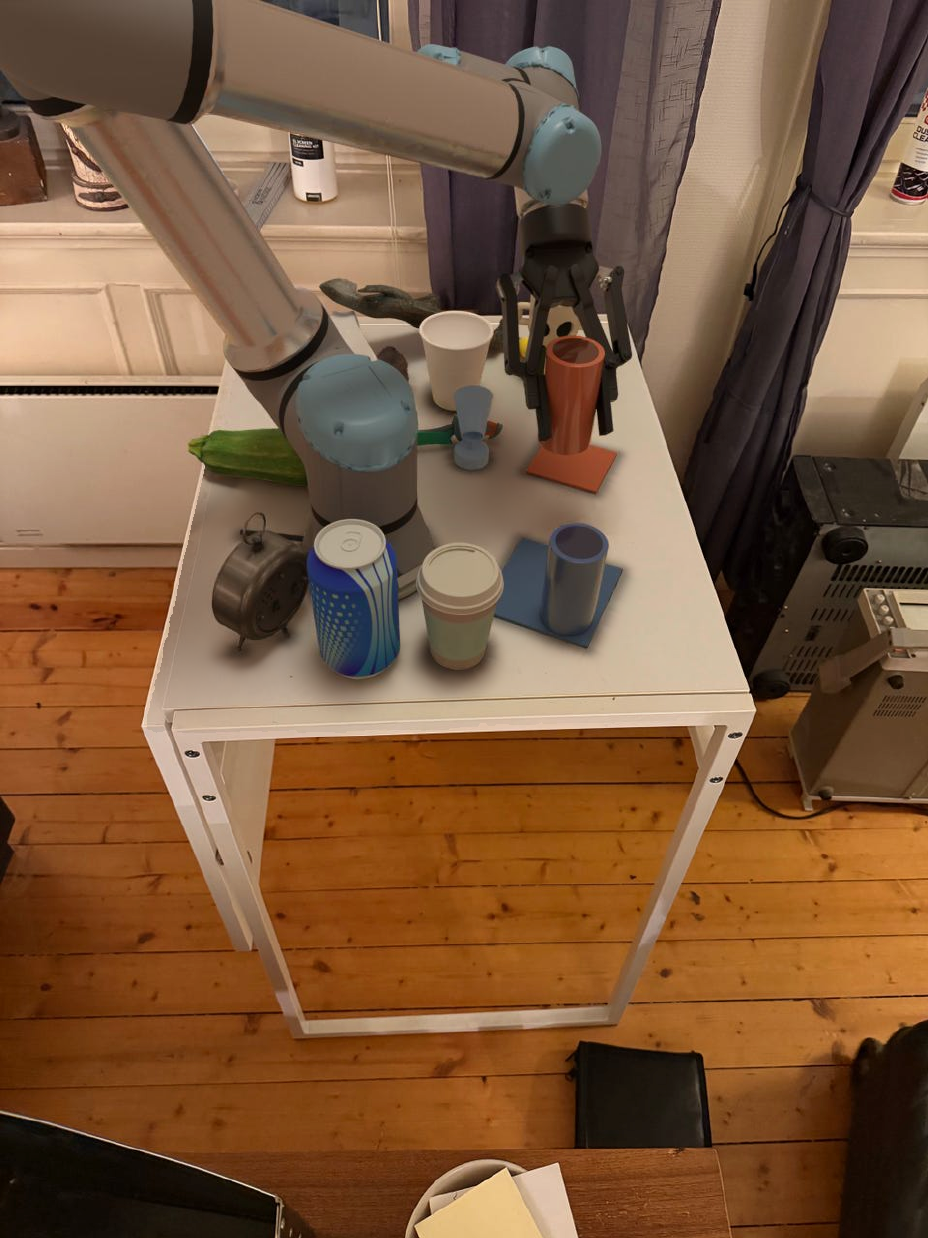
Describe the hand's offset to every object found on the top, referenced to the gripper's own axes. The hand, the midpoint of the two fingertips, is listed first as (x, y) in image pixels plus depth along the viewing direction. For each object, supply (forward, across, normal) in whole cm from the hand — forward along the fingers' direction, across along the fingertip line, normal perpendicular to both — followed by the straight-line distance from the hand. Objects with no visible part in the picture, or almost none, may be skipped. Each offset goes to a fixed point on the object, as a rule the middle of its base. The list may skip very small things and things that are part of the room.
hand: (575, 436), depth 92 cm
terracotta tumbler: (0, 0, -5) cm, 5 cm away
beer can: (+20, +25, -1) cm, 33 cm away
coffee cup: (+21, +15, -1) cm, 26 cm away
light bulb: (-18, -4, -40) cm, 44 cm away
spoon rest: (-16, +22, -38) cm, 46 cm away
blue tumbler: (+19, +2, -2) cm, 19 cm away
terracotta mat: (+1, -5, -21) cm, 22 cm away
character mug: (-14, -7, -36) cm, 39 cm away
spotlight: (-2, +8, -24) cm, 25 cm away
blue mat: (+16, +3, -6) cm, 18 cm away
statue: (-22, -4, -42) cm, 48 cm away
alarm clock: (+17, +34, -5) cm, 38 cm away
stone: (-17, +18, -37) cm, 45 cm away
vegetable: (-2, +24, -19) cm, 31 cm away
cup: (-11, +8, -33) cm, 36 cm away
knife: (-4, +13, -26) cm, 29 cm away
